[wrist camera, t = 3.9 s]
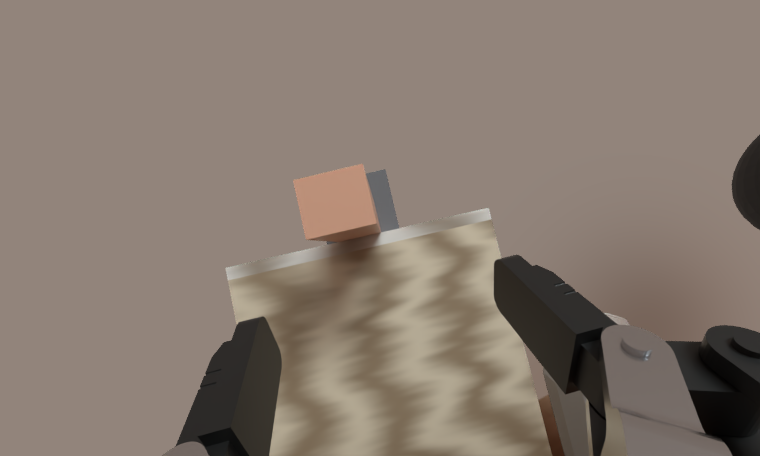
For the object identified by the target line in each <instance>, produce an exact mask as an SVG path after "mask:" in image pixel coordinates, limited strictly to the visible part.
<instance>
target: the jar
mask: <svg viewBox="0 0 760 456" xmlns="http://www.w3.org/2000/svg"><path fill="white" fill-rule="evenodd" d="M604 314H605V315H607V316H608V317H609V318H610V319H612V320H613V321H614V322H615V323H617V324H618V325H629V323H628V322H627V320H626V319H625V318H622V317H619V316H615V315H612V314H609V313H604ZM543 374H544V378H545V382H546V386H547V390H548V393H549V397H550V401H551V405H552V409H553V413H554V417H555V420H556V424H557V428H558V432H559V436H560V440H561V444H562V447H563V451H564V455H565V456H589V447H588V434H587V421H586V408H585V403H586V397H585V396H584V395H583V394H582V392H581V391H576V392H573V393H569V394H566V395H565V394H564V392H563V391H562V390H561V389H560V387H559V386H558V385H557V383H556V382H555V381H554V380H553V378H552V377H551V376H550V375H549V373H548V372H547V371H546V370H545V368H544V369H543Z"/></svg>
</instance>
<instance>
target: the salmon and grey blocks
mask: <svg viewBox="0 0 760 456" xmlns="http://www.w3.org/2000/svg"><path fill="white" fill-rule="evenodd" d="M293 181H294V186H295V190H296V195H297V200H298V204H299V209H300V213H301V218H302V223H303V228H304V232H305V237H306V240H317V241H327V245H328V244H333V243H337V242H342V241H346V240H350V239H355V238H359V237H363V236H368V235H372V234H377V233H381V232H385V231H390V230H394V229H398V228H399V225H398V221H397V217H396V213H395V209H394V204H393V200H392V196H391V192H390V187H389V183H388V179H387V175H386V171H385V170H380V171H376V172H372V173H368V174H366V173H365V169H364V166H363V164H359V165H355V166H351V167H347V168H343V169H339V170H334V171H330V172H325V173H321V174H317V175H313V176H309V177H304V178H300V179H296V180H293Z"/></svg>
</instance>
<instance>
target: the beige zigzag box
mask: <svg viewBox="0 0 760 456" xmlns="http://www.w3.org/2000/svg"><path fill="white" fill-rule="evenodd" d="M497 259H501V254H500V250H499V247H498V243H497V239H496V235H495V231H494V227H493V223H492V219H491V215H490V211H489V208H486V209H482V210H477V211H473V212H469V213H465V214H460V215H456V216H451V217H447V218H442V219H438V220H433V221H429V222H425V223H421V224H416V225H412V226H408V227H403V228H398V229H394V230H390V231H385V232H381V233H377V234H372V235H368V236H363V237H359V238H355V239H350V240H346V241H342V242H337V243H333V244H328V245H324V246H320V247H315V248H311V249H306V250H302V251H298V252H293V253H289V254H285V255H280V256H276V257H272V258H267V259H263V260H258V261H255V262H250V263H246V264H241V265H237V266H232V267H228V268H226V273H227V278H228V283H229V288H230V293H231V298H232V303H233V308H234V313H235V318H236V323H237V324H238V323H239V322H241V321H245V320H249V319H253V318H258V317H262V316H263V317H265V318H266V320H267V322H268V324H269V326H270V329H271V331H272V333H273V335H274V338H275V340H276V342H277V344H278V347H279V349H280V353H281V358H282V369H281V376H280V383H279V390H278V397H277V404H276V411H275V418H274V425H273V432H272V439H271V446H270V453H269V456H552V453H551V449H550V445H549V441H548V437H547V433H546V430H545V426H544V422H543V418H542V414H541V410H540V406H539V402H538V398H537V395H536V391H535V387H534V383H533V379H532V375H531V372H530V367H529V363H528V359H527V356H526V352H525V348H524V344H523V340H522V339H521V338H520V337H519V335H518V334H517V333H516V332H515V330H514V329H513V328H512V326H511V325H510V324H509V323H508V321H507V320H506V319H505V318H504V316H503V315H502V314H501V313H500V311H499V309H498V308H497V305H496V303H495V300H494V262H495V260H497Z"/></svg>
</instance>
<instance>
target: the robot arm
mask: <svg viewBox="0 0 760 456" xmlns="http://www.w3.org/2000/svg"><path fill="white" fill-rule="evenodd" d="M732 193H733V199H734V202H735V204H736V206H737V208H738V210H739V211H740V213H741V214H742V215H743V217H744V218H745V219H747V220H748V221H749V222H750V223H751V224H752V225H753V226H754V227H756V228H757V229H760V135H759V136H758V137H757V138H756V139H755V140H754V141H753V142H752V143H751V144H750V145H749V147H748V148H747V149H746V151H745V152H744V153H743V155H742V157H741V158H740V160H739V162H738V164H737V166H736V169H735V171H734V175H733V180H732ZM494 300H495V303H496V305H497V308H498V309H499V311H500V313H501V314H502V315H503V316H504V318H505V319H506V320H507V321H508V323H509V324H510V325H511V326H512V328H513V329H514V330H515V332H516V333H517V334H518V335H519V337H520V338H521V339H522V340H523V342H524V343H525V344H526V345H527V347H528V348H529V349H530V351H531V352H532V353H533V354H534V356H535V357H536V358H537V359H538V361H539V362H540V363H541V364H542V366H543V367H544V368H545V370H546V371H547V372H548V373H549V375H550V376H551V377H552V378H553V380H554V381H555V382H556V383H557V385H558V386H559V387H560V389H561V390H562V391H563V392H564V394H565V395H566V394H569V393H573V392H576V391H581V392H582V394H583V395H584V396H585V397H586V403H585V408H586V421H587V434H588V447H589V456H760V333H758V332H756V331H752V330H749V329H745V328H741V327H736V326H727V325H724V326H715V327H712V328H710V329H708V331H707V332H706V334H705V336H704V339H703V341H702V342H684V341H664V340H662V339H661V338H660V337H658V336H657V335H655V334H653V333H651V332H649V331H647V330H644V329H642V328H639V327H635V326H630V325H618V324H617V323H615V322H614V321H613V320H612V319H610V318H609V317H608V316H607V315H605V314H604V313H602V312H601V311H600V310H599V309H598V308H596V307H595V306H594V305H593V304H592V303H590V302H589V301H588V300H587V299H585V298H584V297H583V296H582V295H580V294H579V293H578V292H575V290H574V289H573V288H572V287H571V286H569V285H568V284H565V282H564V281H563V280H562V279H561V278H559V277H558V276H557V275H556V274H554V273H553V272H551V271H549V270H547V269H545V268H542V267H540V266H538V265H535V266H531V265H530V264H529V263H528V262H527V261H526V260H524V259H523V258H522V257H521V256H519V255H514V256H510V257H505V258H501V259H497V260H495V262H494ZM281 369H282V358H281V353H280V349H279V347H278V344H277V342H276V340H275V338H274V335H273V333H272V331H271V329H270V326H269V324H268V322H267V320H266V318H265V317H263V316H262V317H258V318H253V319H249V320H245V321H241V322H239V323H238V324H237V326H236V329H235V332H234V335H233V338H232V340H231V341H227V342H224V343H223V344H222V345H221V347H220V348H219V349H218V351H217V352H216V353H215V354H214V355H213V357H212V359H211V361H210V363H209V366H208V368H207V371H206V376H204V378H203V380H202V383H201V385H200V387H201V389H200V390H198V393H197V395H196V398H195V400H194V403H193V405H192V408H191V410H190V413H189V415H188V417H187V420H186V422H185V425H184V427H183V430H182V432H181V435H180V437H179V440H178V442H177V444H176V446H175V447H174V448H172V449H171V450H169V451H168V452H166V453H165V454H164V455H162V456H269V453H270V446H271V439H272V432H273V425H274V418H275V411H276V404H277V397H278V390H279V383H280V376H281Z"/></svg>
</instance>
